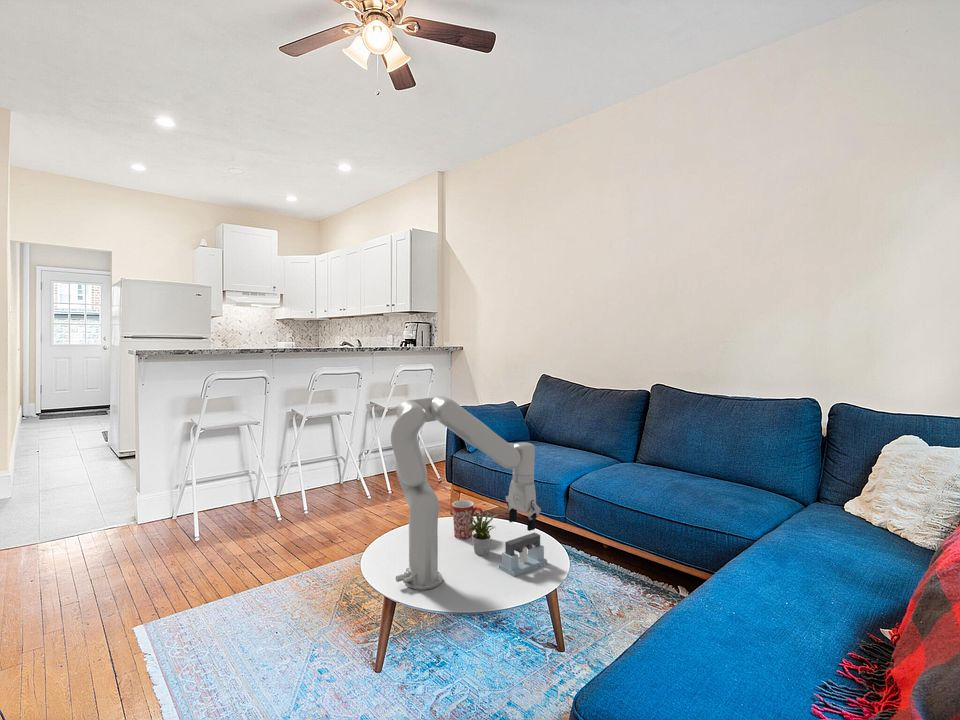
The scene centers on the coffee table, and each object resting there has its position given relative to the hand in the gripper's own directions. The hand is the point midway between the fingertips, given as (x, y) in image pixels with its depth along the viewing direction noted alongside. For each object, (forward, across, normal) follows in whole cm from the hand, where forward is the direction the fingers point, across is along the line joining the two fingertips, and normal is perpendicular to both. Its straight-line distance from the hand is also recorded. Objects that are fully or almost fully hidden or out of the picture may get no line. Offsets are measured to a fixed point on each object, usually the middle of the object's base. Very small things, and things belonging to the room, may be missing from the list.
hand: (521, 525), depth 177 cm
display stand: (+15, 0, +1) cm, 15 cm away
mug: (+15, -34, +1) cm, 37 cm away
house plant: (+15, -19, -5) cm, 25 cm away
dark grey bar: (+9, 0, +1) cm, 9 cm away
